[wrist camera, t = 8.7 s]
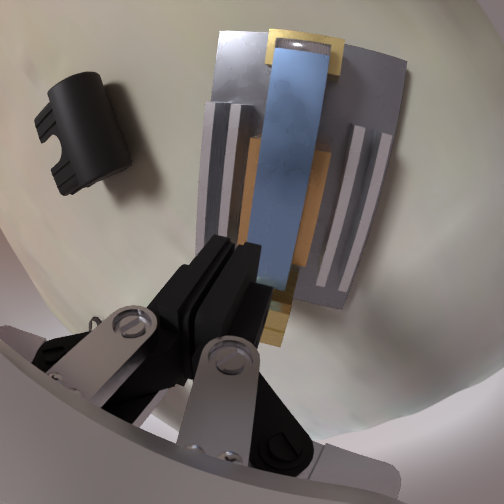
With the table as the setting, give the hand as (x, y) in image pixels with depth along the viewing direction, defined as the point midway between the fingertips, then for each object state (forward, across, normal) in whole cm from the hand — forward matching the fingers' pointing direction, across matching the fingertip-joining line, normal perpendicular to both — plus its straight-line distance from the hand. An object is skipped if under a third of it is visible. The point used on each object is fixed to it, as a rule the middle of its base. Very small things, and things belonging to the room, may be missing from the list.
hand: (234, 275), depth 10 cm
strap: (+9, 0, -2) cm, 9 cm away
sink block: (+15, 0, 0) cm, 15 cm away
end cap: (+15, +19, -2) cm, 24 cm away
